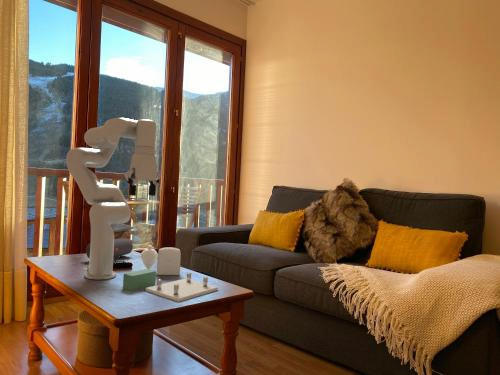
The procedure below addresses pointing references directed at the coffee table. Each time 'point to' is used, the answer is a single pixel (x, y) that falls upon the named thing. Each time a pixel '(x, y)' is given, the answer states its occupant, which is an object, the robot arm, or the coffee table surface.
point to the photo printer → (168, 261)
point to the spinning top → (149, 257)
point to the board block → (139, 279)
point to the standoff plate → (181, 288)
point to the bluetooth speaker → (117, 248)
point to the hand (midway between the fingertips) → (142, 195)
